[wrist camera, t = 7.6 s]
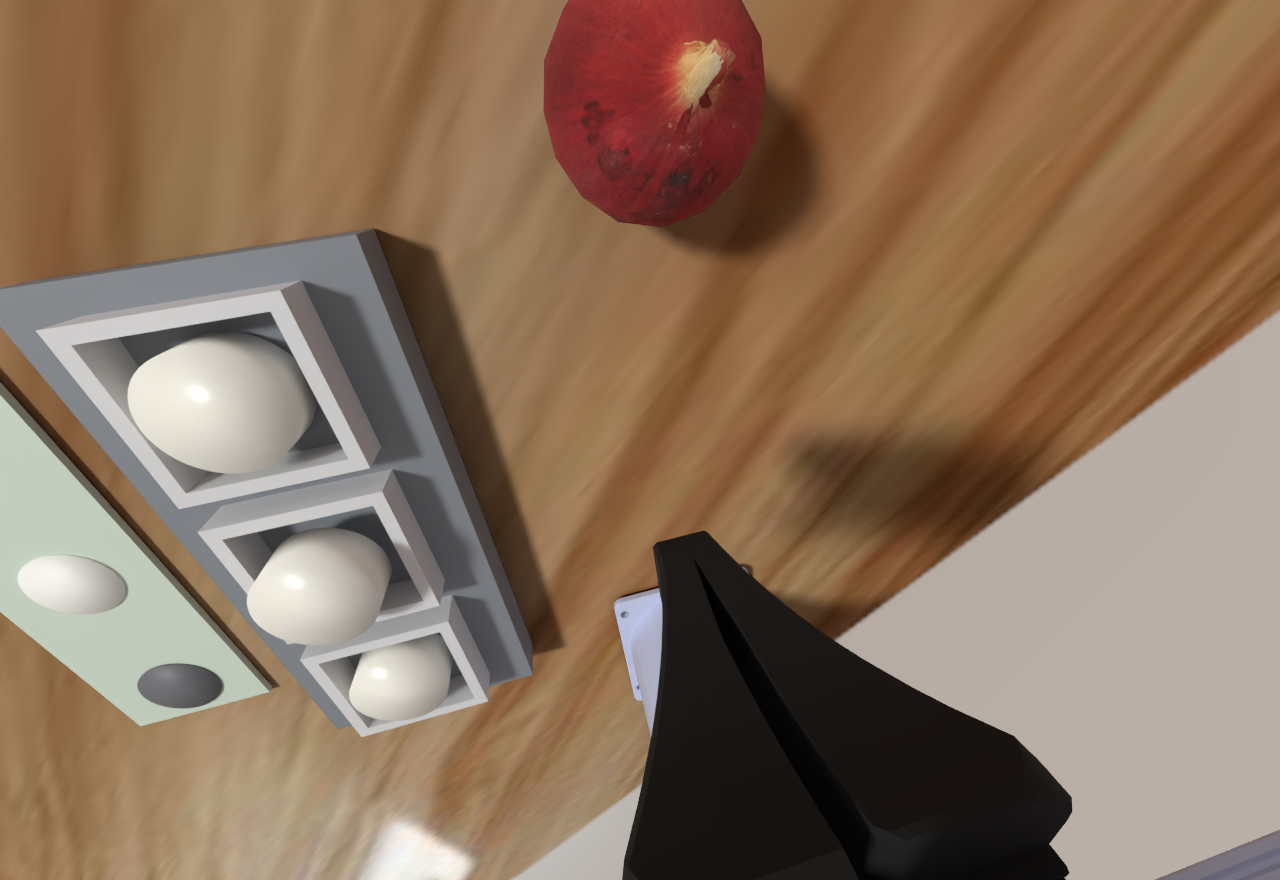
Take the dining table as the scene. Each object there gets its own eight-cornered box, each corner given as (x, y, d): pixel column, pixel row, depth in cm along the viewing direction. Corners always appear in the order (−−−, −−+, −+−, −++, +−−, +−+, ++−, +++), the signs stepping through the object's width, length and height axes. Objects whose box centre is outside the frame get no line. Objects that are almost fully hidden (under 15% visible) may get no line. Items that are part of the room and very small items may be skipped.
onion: (693, 224, 18) (799, 252, 11) (538, 208, 16) (550, 228, 10) (721, 28, 15) (884, -94, 8) (539, -12, 14) (558, -196, 7)
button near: (339, 432, 17) (319, 457, 15) (216, 456, 16) (183, 486, 14) (280, 320, 14) (252, 337, 13) (138, 344, 14) (90, 365, 12)
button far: (464, 671, 24) (460, 705, 22) (381, 693, 23) (372, 730, 22) (436, 618, 22) (430, 652, 20) (345, 642, 21) (332, 678, 20)
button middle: (407, 592, 19) (397, 628, 18) (303, 617, 19) (283, 657, 17) (366, 516, 17) (350, 549, 16) (248, 543, 17) (220, 580, 15)
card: (272, 686, 24) (268, 693, 24) (144, 720, 24) (139, 728, 23) (-20, 359, 15) (-32, 363, 15) (-244, 397, 14) (-263, 402, 14)
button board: (532, 643, 27) (533, 701, 24) (349, 692, 26) (327, 760, 23) (373, 228, 16) (339, 240, 13) (37, 280, 14) (-89, 306, 11)
